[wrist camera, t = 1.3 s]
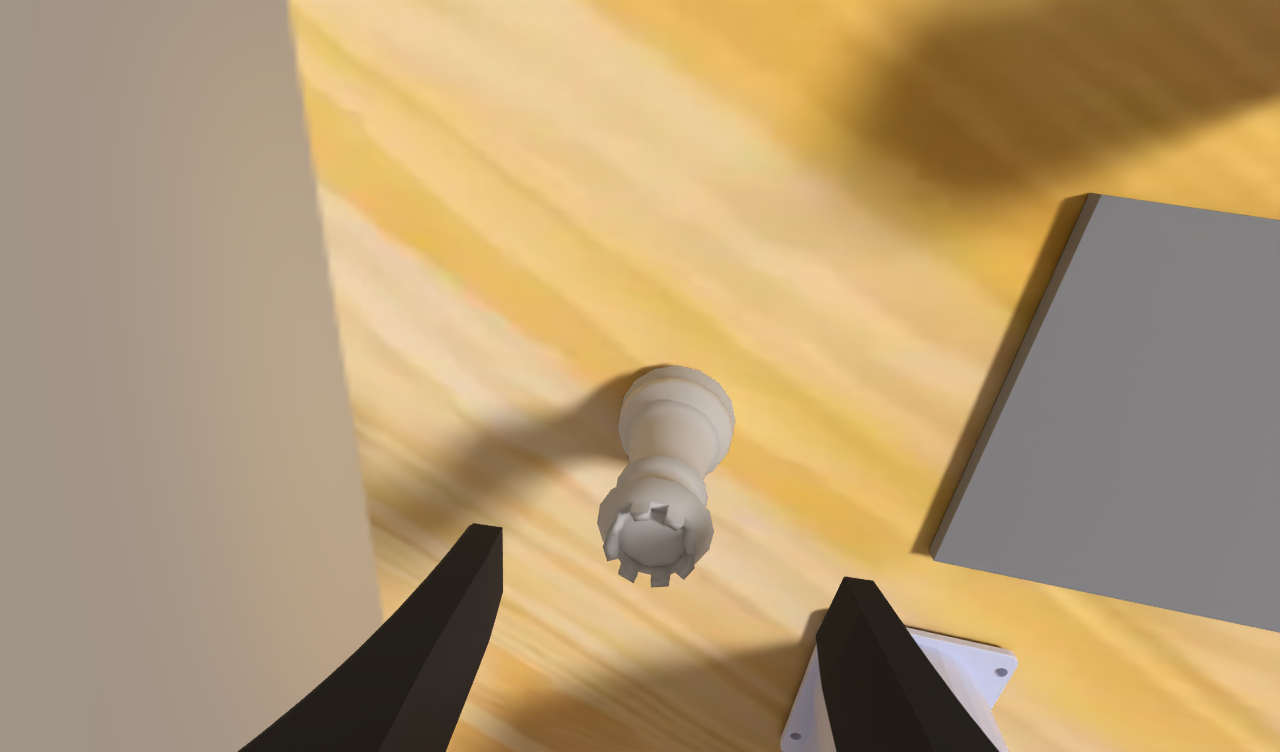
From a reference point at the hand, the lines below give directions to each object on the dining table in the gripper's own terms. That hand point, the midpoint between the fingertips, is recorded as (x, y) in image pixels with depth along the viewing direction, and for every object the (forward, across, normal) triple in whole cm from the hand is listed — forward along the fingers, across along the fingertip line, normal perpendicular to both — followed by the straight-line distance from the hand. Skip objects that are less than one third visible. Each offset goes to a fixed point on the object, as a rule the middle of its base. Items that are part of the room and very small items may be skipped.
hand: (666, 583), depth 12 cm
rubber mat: (+9, -18, -1) cm, 20 cm away
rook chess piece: (+10, -1, +3) cm, 11 cm away
